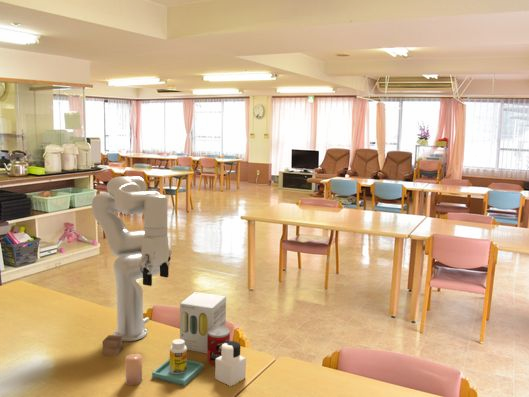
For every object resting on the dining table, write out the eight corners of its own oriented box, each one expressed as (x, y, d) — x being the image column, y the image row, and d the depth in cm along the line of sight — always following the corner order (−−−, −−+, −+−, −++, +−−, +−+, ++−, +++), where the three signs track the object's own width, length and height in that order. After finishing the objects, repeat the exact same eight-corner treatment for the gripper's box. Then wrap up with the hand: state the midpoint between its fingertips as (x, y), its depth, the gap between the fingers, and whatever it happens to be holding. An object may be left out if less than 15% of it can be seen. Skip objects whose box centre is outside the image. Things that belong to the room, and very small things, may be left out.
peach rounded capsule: (132, 375, 152) (132, 352, 151) (145, 379, 151) (145, 355, 149) (122, 383, 148) (122, 359, 147) (135, 386, 146) (135, 362, 145)
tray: (172, 361, 163) (172, 356, 162) (203, 368, 158) (203, 363, 158) (152, 377, 151) (152, 372, 151) (184, 386, 147) (184, 380, 147)
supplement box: (178, 348, 172) (178, 302, 169) (194, 334, 184) (194, 291, 182) (212, 354, 168) (213, 308, 165) (226, 339, 180) (226, 295, 178)
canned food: (209, 367, 159) (209, 336, 157) (205, 356, 167) (205, 326, 165) (231, 365, 161) (232, 334, 160) (226, 354, 169) (227, 325, 167)
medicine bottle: (229, 370, 157) (230, 336, 156) (245, 378, 153) (246, 343, 151) (214, 379, 152) (215, 344, 150) (230, 387, 147) (231, 351, 146)
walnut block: (109, 348, 171) (108, 335, 170) (122, 349, 170) (122, 336, 170) (102, 354, 166) (102, 341, 165) (116, 355, 165) (116, 342, 165)
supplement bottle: (172, 376, 151) (173, 346, 150) (167, 369, 156) (167, 339, 154) (189, 372, 154) (189, 343, 153) (183, 365, 159) (183, 336, 157)
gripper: (161, 225, 166) (161, 272, 169) (130, 235, 150) (130, 286, 153) (179, 227, 164) (179, 275, 166) (150, 238, 148) (150, 290, 150)
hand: (156, 280), depth 160 cm, fingers open, 9 cm apart
